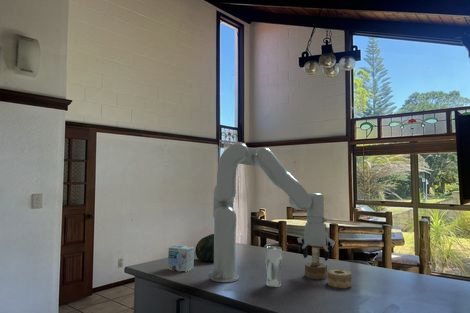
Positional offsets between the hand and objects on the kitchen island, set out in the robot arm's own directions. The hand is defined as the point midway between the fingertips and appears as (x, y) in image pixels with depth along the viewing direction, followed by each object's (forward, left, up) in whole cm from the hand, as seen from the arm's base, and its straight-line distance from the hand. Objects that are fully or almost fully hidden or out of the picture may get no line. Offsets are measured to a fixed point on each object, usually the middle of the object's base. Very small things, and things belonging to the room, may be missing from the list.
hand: (315, 258), depth 154 cm
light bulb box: (-23, +59, -8) cm, 64 cm away
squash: (0, +58, -8) cm, 59 cm away
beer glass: (-22, +11, -8) cm, 26 cm away
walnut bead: (0, 0, -8) cm, 8 cm away
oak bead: (-7, -12, -8) cm, 16 cm away
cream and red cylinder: (0, 0, -8) cm, 8 cm away
